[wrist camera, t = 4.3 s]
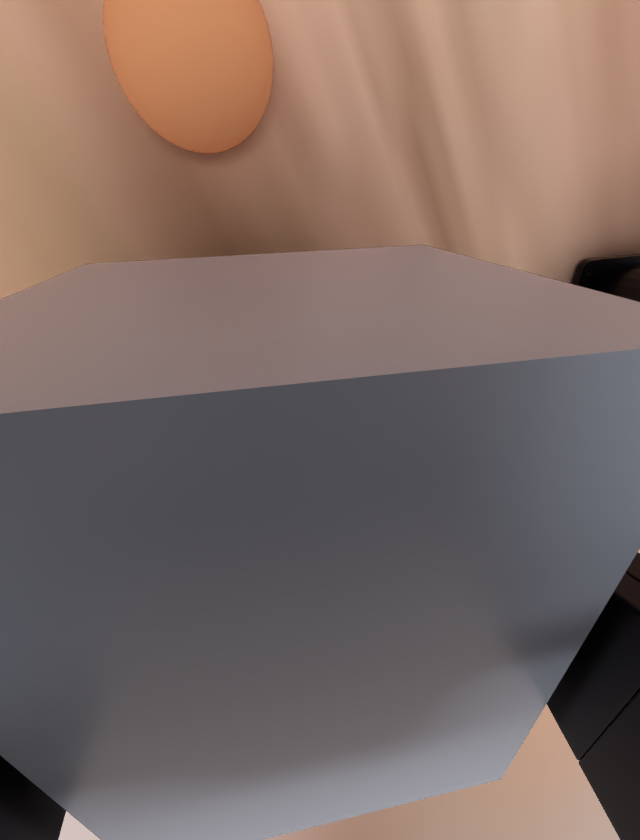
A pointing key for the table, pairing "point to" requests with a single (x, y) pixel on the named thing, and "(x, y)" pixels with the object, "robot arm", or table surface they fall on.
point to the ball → (192, 67)
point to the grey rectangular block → (301, 528)
